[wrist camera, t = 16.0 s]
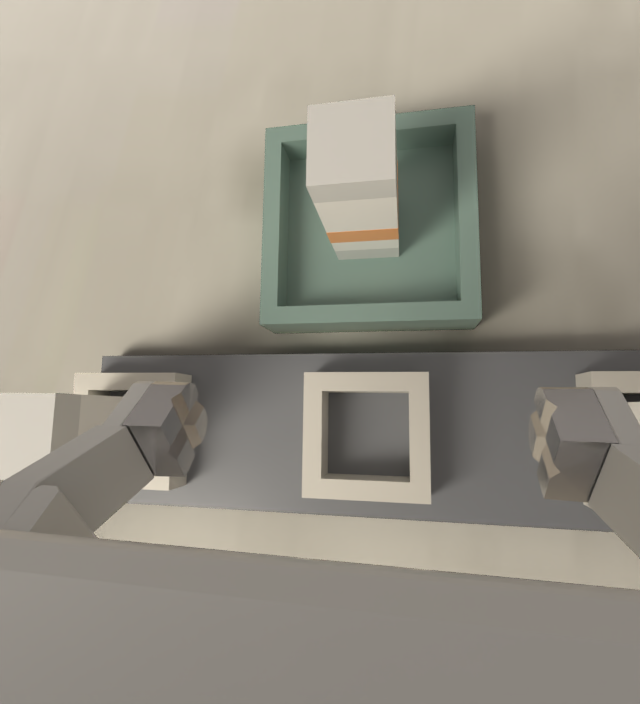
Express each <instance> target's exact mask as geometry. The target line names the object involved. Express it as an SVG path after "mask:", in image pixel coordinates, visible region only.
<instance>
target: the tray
mask: <svg viewBox="0 0 640 704" xmlns="http://www.w3.org/2000/svg"><path fill="white" fill-rule="evenodd" d="M396 139H397V160H398V195H399V257H388V258H368V259H348V260H339V259H338V257H337V255H336V253H335V250H334V248H333V246H332V244H331V243H330V240H329V238H328V236H327V234H326V230H325V228H324V226H323V224H322V221H321V219H320V217H319V215H318V212H317V210H316V208H315V206H314V203H313V201H312V199H311V197H310V194H309V192H308V190H307V188H306V159H307V124H300V125H291V126H282V127H274V128H266V136H265V168H264V199H263V231H262V262H261V294H260V325H261V326H263V327H265V328H267V329H268V330H270V331H272V332H273V333H320V332H369V331H418V330H467V329H474V328H475V327H476V326H477V325H478V323H479V322H480V321H481V320H482V300H481V271H480V243H479V214H478V186H477V157H476V129H475V105H469V106H461V107H452V108H443V109H434V110H425V111H416V112H407V113H398V114H396Z"/></svg>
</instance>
